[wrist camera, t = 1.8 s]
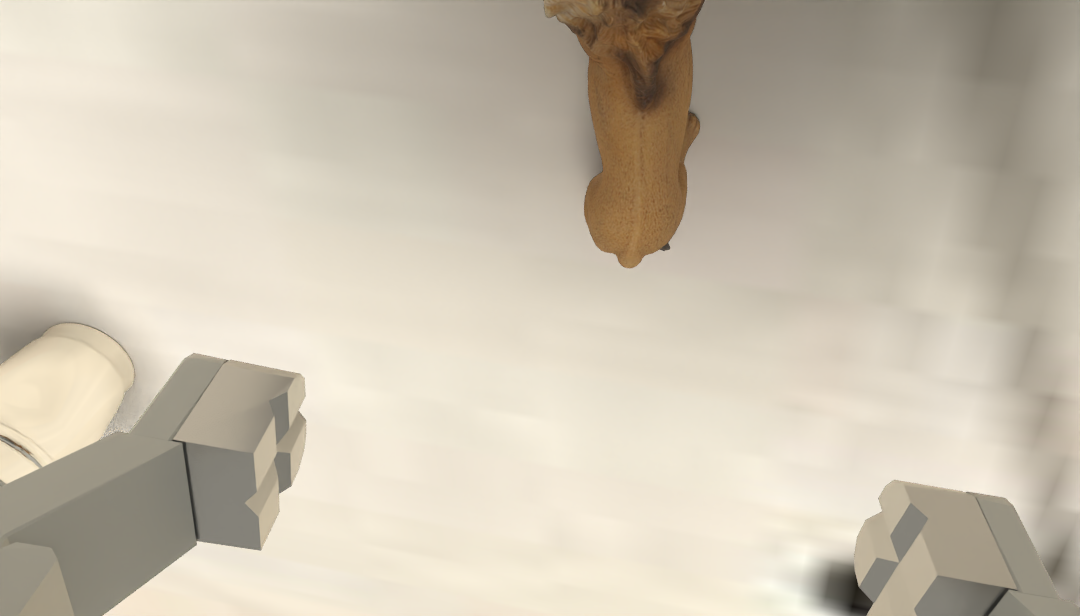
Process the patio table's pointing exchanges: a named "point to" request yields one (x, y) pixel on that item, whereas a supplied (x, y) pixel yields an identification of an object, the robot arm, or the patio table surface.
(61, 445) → the cup with straw
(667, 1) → the lion figurine
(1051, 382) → the patio table surface
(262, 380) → the robot arm
